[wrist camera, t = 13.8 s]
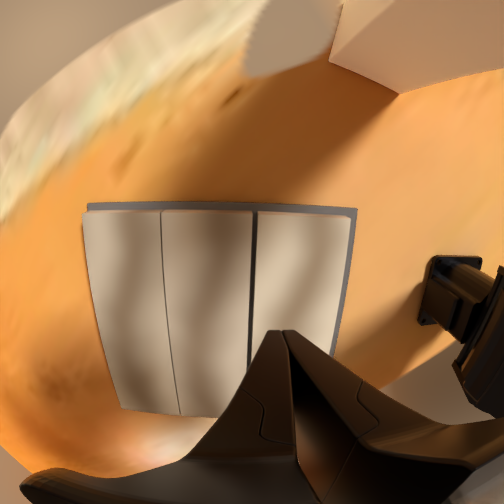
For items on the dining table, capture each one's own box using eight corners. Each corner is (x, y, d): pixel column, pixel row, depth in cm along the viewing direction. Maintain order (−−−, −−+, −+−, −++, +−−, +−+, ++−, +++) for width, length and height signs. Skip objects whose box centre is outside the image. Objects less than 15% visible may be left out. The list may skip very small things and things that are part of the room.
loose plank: (345, 215, 20) (350, 218, 19) (311, 407, 25) (313, 416, 24) (257, 210, 20) (258, 214, 18) (248, 409, 25) (248, 418, 24)
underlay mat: (355, 208, 20) (357, 208, 20) (320, 403, 26) (321, 405, 25) (89, 203, 19) (87, 203, 19) (124, 397, 24) (123, 399, 24)
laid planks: (251, 210, 20) (252, 214, 18) (244, 408, 25) (244, 418, 24) (89, 210, 19) (81, 213, 18) (124, 400, 24) (121, 408, 23)
